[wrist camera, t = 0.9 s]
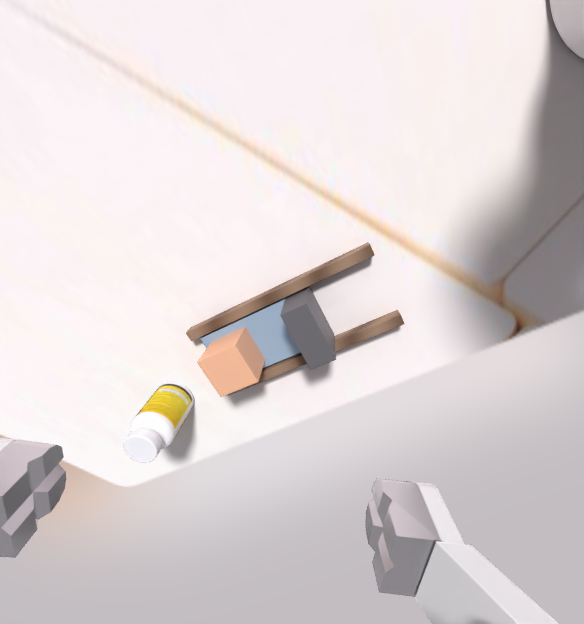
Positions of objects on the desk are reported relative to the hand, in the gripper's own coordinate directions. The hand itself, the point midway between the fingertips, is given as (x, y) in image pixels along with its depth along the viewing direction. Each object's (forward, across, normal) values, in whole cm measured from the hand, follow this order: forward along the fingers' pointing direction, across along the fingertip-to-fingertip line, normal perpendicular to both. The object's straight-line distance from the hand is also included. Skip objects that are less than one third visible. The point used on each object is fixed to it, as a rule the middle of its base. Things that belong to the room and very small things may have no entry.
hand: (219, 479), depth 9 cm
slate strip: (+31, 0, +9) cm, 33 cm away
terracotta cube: (+31, +4, +12) cm, 33 cm away
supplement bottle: (+33, +12, +21) cm, 41 cm away
